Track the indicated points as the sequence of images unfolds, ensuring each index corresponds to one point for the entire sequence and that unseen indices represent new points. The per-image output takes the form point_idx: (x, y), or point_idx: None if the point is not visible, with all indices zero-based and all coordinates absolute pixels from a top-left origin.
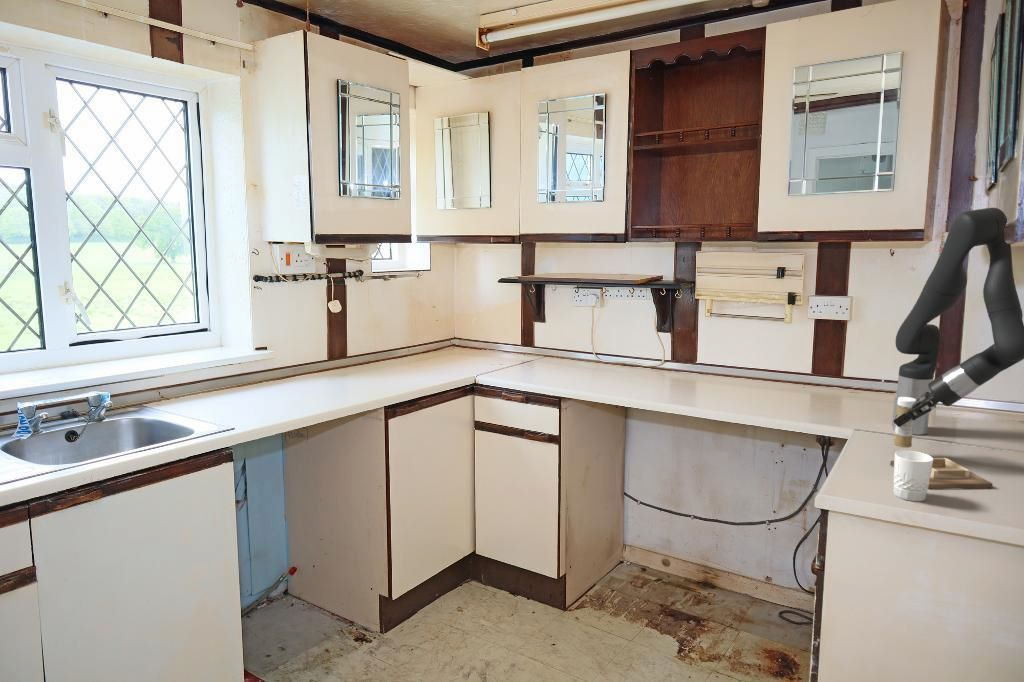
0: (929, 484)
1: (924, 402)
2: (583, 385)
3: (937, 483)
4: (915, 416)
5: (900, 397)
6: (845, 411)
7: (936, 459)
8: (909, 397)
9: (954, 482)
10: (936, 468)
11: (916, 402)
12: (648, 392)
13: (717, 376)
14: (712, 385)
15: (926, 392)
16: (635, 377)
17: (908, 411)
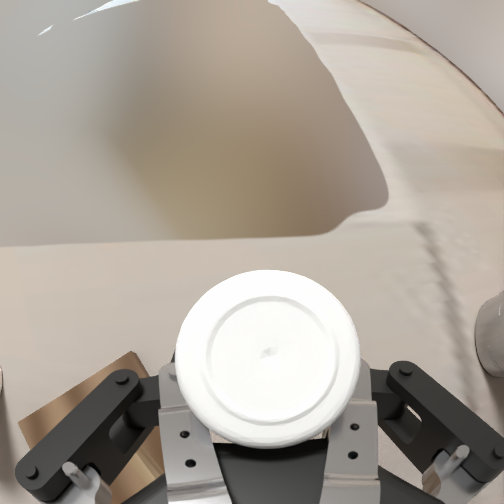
0: (19, 425)
1: (30, 485)
2: (303, 7)
3: (30, 444)
4: (135, 428)
5: (287, 284)
6: (500, 198)
7: (142, 479)
8: (346, 364)
9: None
10: (135, 472)
11: (178, 448)
12: (332, 25)
13: (459, 73)
14: (426, 63)
15: (497, 458)
16: (374, 25)
17: (115, 381)
